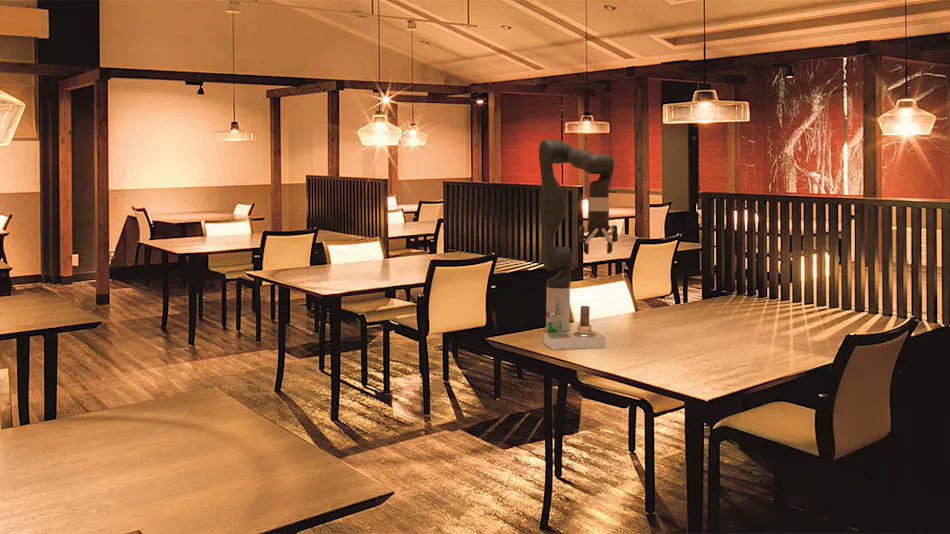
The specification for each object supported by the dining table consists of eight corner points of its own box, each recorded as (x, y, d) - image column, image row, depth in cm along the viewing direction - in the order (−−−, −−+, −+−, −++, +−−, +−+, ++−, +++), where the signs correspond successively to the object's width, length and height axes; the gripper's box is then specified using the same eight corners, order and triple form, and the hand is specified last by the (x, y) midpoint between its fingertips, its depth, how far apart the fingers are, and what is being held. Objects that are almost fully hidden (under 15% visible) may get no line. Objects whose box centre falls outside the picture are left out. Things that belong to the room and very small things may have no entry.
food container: (564, 343, 319) (565, 316, 318) (548, 343, 320) (548, 316, 318) (562, 336, 332) (562, 310, 330) (546, 336, 332) (546, 310, 331)
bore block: (543, 343, 319) (543, 332, 319) (595, 341, 323) (595, 330, 322) (551, 349, 308) (551, 338, 308) (605, 347, 312) (605, 336, 312)
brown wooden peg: (575, 332, 318) (576, 305, 316) (588, 331, 319) (589, 305, 317) (580, 335, 313) (580, 308, 312) (593, 334, 314) (594, 307, 313)
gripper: (613, 208, 321) (612, 252, 323) (576, 209, 318) (576, 252, 320) (620, 210, 314) (619, 254, 316) (583, 210, 311) (582, 255, 313)
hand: (597, 253), depth 318 cm, fingers open, 8 cm apart
